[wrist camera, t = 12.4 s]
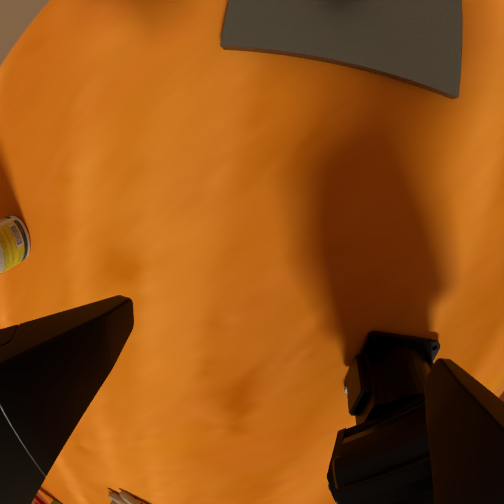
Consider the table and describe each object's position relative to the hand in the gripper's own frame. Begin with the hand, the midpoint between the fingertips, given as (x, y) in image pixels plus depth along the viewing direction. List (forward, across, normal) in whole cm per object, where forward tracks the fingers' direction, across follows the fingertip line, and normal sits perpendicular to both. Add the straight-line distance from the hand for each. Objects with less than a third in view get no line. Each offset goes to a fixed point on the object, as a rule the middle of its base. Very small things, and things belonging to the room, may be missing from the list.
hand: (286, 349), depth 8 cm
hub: (+13, -1, -19) cm, 23 cm away
